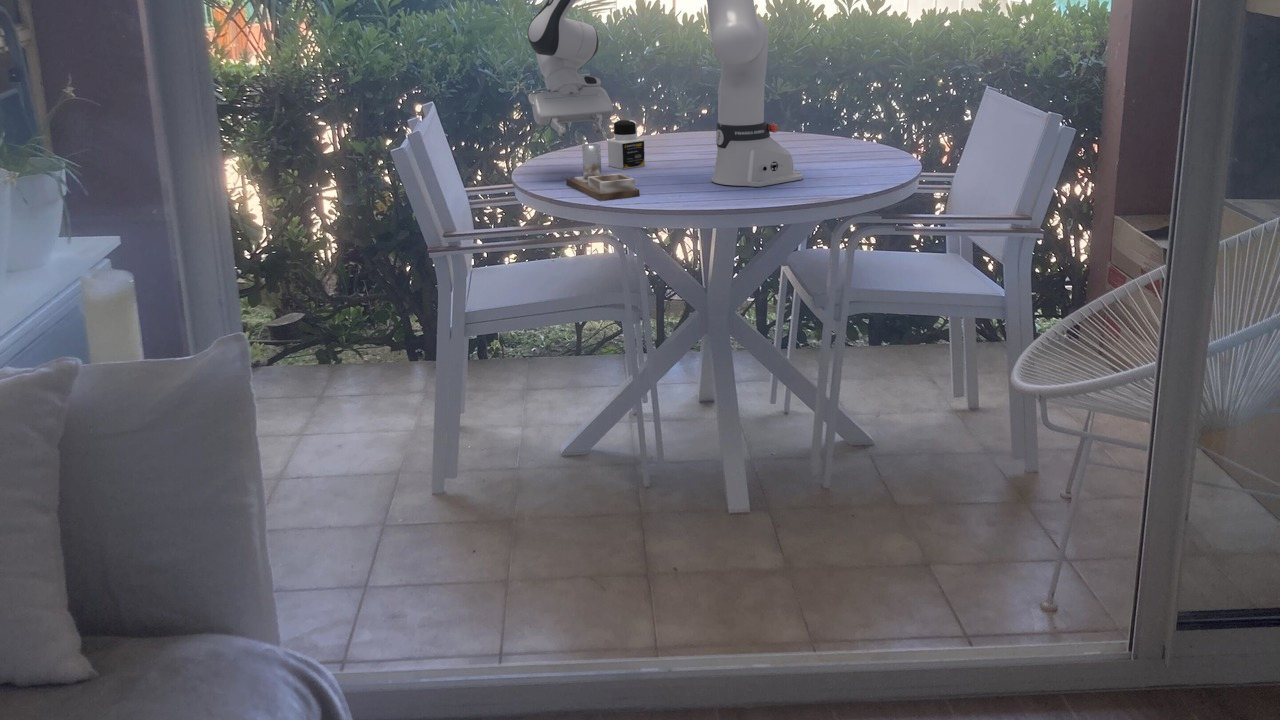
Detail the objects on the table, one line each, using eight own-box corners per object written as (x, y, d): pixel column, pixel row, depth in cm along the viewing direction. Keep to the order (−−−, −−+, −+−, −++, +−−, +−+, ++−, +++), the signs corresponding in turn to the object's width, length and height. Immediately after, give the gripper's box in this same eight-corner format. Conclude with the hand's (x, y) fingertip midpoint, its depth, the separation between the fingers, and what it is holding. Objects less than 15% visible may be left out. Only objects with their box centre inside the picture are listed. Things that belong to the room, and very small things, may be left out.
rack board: (604, 180, 285) (603, 164, 283) (639, 196, 266) (639, 179, 264) (566, 184, 281) (565, 168, 280) (599, 200, 262) (599, 183, 261)
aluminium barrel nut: (597, 175, 280) (596, 143, 278) (604, 178, 277) (603, 145, 274) (580, 177, 279) (579, 144, 276) (587, 180, 275) (586, 147, 272)
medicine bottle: (623, 169, 299) (621, 123, 295) (607, 166, 304) (606, 120, 300) (645, 166, 303) (644, 120, 298) (629, 162, 308) (628, 118, 304)
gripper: (528, 83, 279) (543, 128, 274) (605, 78, 286) (621, 121, 281) (523, 100, 284) (538, 144, 279) (599, 94, 292) (615, 137, 287)
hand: (581, 133), depth 280 cm, fingers open, 8 cm apart
